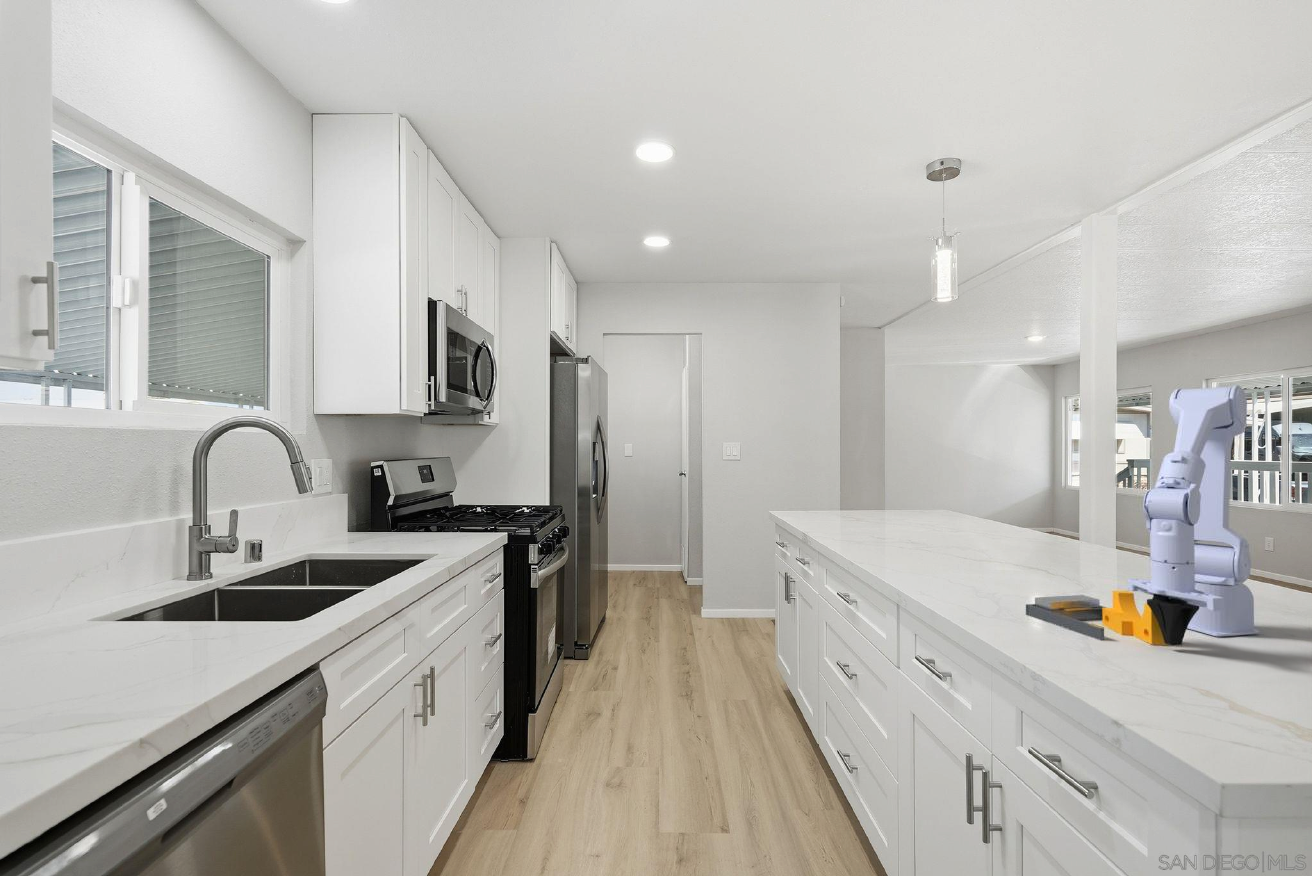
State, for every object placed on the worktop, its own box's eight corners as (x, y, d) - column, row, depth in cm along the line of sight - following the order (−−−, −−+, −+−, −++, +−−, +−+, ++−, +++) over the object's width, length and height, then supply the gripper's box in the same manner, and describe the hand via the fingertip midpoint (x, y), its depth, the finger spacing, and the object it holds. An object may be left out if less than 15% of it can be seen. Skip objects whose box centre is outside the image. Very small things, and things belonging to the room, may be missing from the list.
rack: (1084, 610, 132) (1084, 593, 132) (1166, 635, 115) (1166, 615, 115) (1025, 614, 129) (1025, 596, 129) (1101, 640, 112) (1101, 619, 112)
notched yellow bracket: (1102, 624, 121) (1102, 590, 121) (1128, 625, 121) (1127, 590, 121) (1140, 644, 110) (1139, 605, 110) (1168, 645, 109) (1168, 606, 109)
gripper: (1112, 554, 113) (1113, 632, 113) (1196, 570, 99) (1198, 659, 99) (1146, 553, 114) (1147, 630, 114) (1234, 568, 100) (1235, 656, 100)
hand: (1173, 643), depth 106 cm, fingers closed
